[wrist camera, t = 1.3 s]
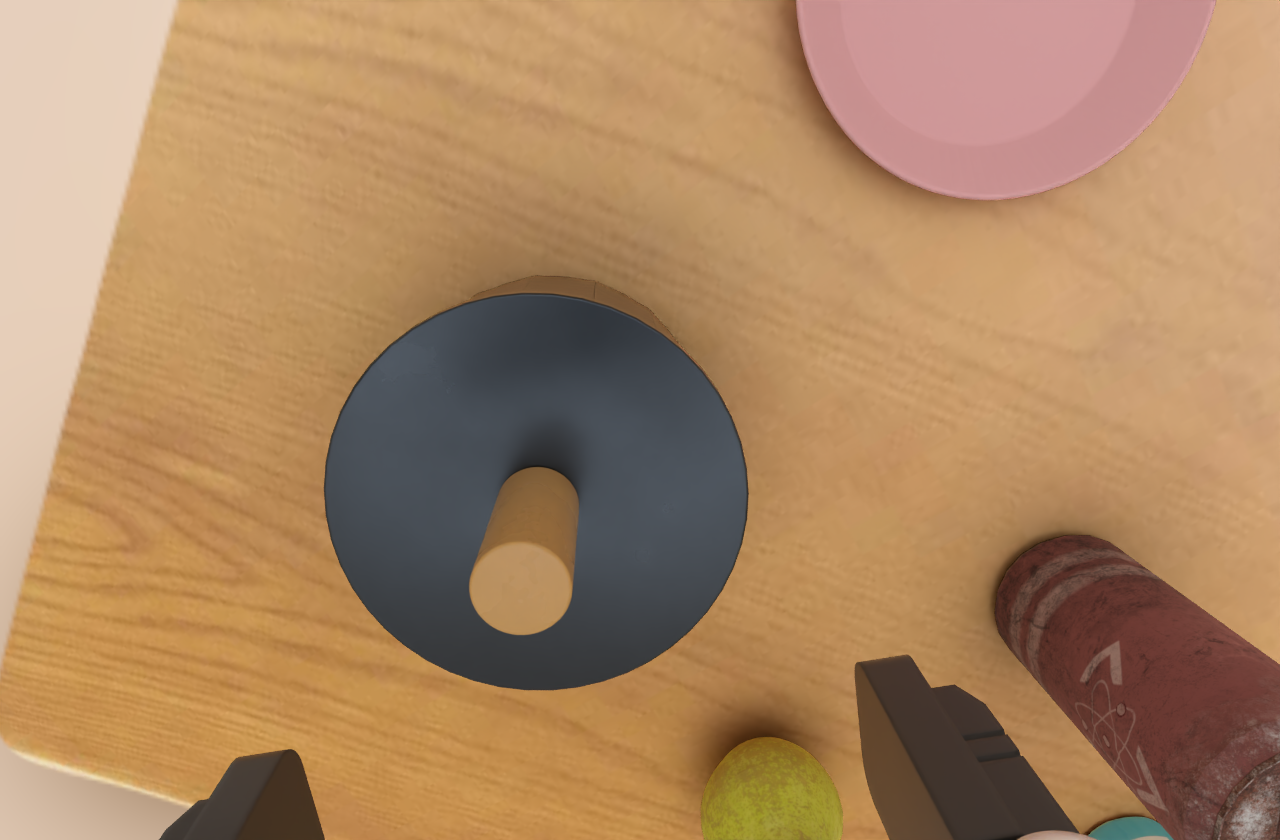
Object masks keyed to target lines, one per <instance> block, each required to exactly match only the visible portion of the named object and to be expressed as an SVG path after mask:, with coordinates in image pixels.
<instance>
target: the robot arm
mask: <svg viewBox="0 0 1280 840" xmlns="http://www.w3.org/2000/svg"><path fill="white" fill-rule="evenodd" d="M855 684H856V695H857V706H858V716H859V727H860V738H861V748H862V758H863V764H864V770H865V774H866V779H867V783H868V786H869V790H870V793H871V796H872V799H873V802H874V804H875V807H876V809H877V811H878V814H879V816H880V818H881V821H882V823H883V825H884V827H885V830H886V832H887V834H888V837H889V839H890V840H1097V839H1095V838H1092V837H1089V836H1086V835H1083V834H1080V833H1079V832H1078V831H1077V829H1076V828H1075V826H1074V825H1073V824H1072V822H1071V821H1070V820H1069V818H1068V817H1067V815H1066V814H1065V813H1064V811H1063V810H1062V809H1061V807H1060V806H1059V804H1058V803H1057V802H1056V800H1055V799H1054V798H1053V796H1052V795H1051V794H1050V792H1049V791H1048V789H1047V788H1046V787H1045V785H1044V784H1043V783H1042V781H1041V780H1040V778H1039V777H1038V776H1037V774H1036V773H1035V772H1034V770H1033V769H1032V767H1031V766H1030V765H1029V763H1028V762H1027V761H1026V759H1025V758H1024V757H1023V756H1020V753H1019V750H1018V748H1017V747H1016V746H1015V744H1014V743H1013V741H1012V740H1011V739H1010V737H1009V736H1008V735H1005V733H1004V729H1003V728H1002V726H1001V725H1000V724H999V722H998V721H997V719H996V718H995V717H994V715H993V714H992V713H991V711H990V710H989V709H988V707H987V706H986V704H984V703H983V702H981V701H980V700H978V699H976V698H975V697H973V696H972V695H970V694H969V693H967V692H965V691H964V690H962V689H961V688H959V687H957V686H956V685H949V686H943V687H936V688H931V687H930V686H929V684H928V683H927V681H926V679H925V678H924V676H923V675H922V673H921V672H920V670H919V669H918V667H917V666H916V664H915V662H914V661H913V659H912V658H911V657H910V656H909V655H902V656H895V657H889V658H882V659H876V660H869V661H863V662H857V663H856V664H855ZM159 840H325V838H324V834H323V831H322V828H321V824H320V821H319V818H318V814H317V811H316V807H315V804H314V801H313V797H312V794H311V791H310V787H309V784H308V781H307V777H306V774H305V771H304V767H303V764H302V761H301V759H300V757H299V755H298V754H297V752H296V751H294V750H292V749H288V750H282V751H275V752H269V753H262V754H256V755H249V756H243V757H238V758H236V759H235V760H234V761H233V762H232V763H231V765H230V766H229V768H228V769H227V771H226V773H225V774H224V776H223V777H222V779H221V780H220V782H219V784H218V785H217V787H216V788H215V790H214V791H213V793H212V795H211V796H210V798H209V799H206V800H200V801H198V802H197V803H195V804H194V805H193V806H192V807H191V808H190V809H189V810H188V811H187V812H185V813H184V814H183V815H182V816H181V817H180V818H179V819H177V820H176V821H175V822H174V823H173V824H172V825H171V826H170V827H168V828H167V829H166V830H165V832H164V833H163V835H162V836H161V838H160V839H159Z"/></svg>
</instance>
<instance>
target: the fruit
mask: <svg viewBox="0 0 1280 840" xmlns="http://www.w3.org/2000/svg"><path fill="white" fill-rule="evenodd" d="M701 827H702V832H703V836H704V840H841V837H842V831H843V811H842V807H841V802H840V799H839V795H838V792H837V790H836V788H835V786H834V783H833V782H832V780H831V778H830V776H829V775H828V773H827V772H826V770H825V769H824V768H823V767H822V765H821V764H820V763H819V762H818V761H817V760H816V759H815V758H814V757H813V756H812V755H811V754H810V753H808V752H807V751H806V750H804V749H803V748H801V747H800V746H798V745H796V744H794V743H792V742H790V741H787V740H784V739H780V738H774V737H759V738H754V739H751V740H747V741H745V742H743V743H741V744H739V745H738V746H736V747H735V748H734V749H732V750H731V751H730V752H729V753H728V754H727V755H726V756H725V757H724V758H723V760H722V761H721V762H720V763H719V764H718V766H717V767H716V769H715V770H714V772H713V773H712V775H711V777H710V779H709V780H708V782H707V785H706V787H705V790H704V794H703V798H702V803H701Z"/></svg>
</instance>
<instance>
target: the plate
mask: <svg viewBox="0 0 1280 840" xmlns="http://www.w3.org/2000/svg"><path fill="white" fill-rule="evenodd" d="M1215 4H1216V0H796V12H797V20H798V28H799V33H800V39H801V43H802V47H803V51H804V55H805V58H806V62H807V65H808V68H809V70H810V73H811V76H812V78H813V81H814V83H815V85H816V88H817V90H818V92H819V94H820V96H821V98H822V100H823V102H824V103H825V105H826V107H827V108H828V110H829V112H830V113H831V115H832V116H833V118H834V119H835V121H836V122H837V124H838V125H839V126H840V128H841V129H842V130H843V131H844V133H845V134H846V135H847V136H848V137H849V138H850V140H851V141H852V142H853V143H854V144H855V145H856V146H857V147H858V148H859V149H860V150H861V151H862V152H863V153H865V154H866V155H867V156H868V157H869V158H870V159H871V160H873V161H874V162H875V163H877V164H878V165H879V166H881V167H882V168H884V169H885V170H887V171H888V172H890V173H891V174H893V175H895V176H896V177H898V178H900V179H902V180H904V181H906V182H908V183H910V184H912V185H915V186H917V187H919V188H922V189H925V190H928V191H931V192H934V193H937V194H941V195H945V196H950V197H955V198H962V199H971V200H1004V199H1012V198H1019V197H1024V196H1029V195H1033V194H1038V193H1041V192H1045V191H1048V190H1051V189H1054V188H1057V187H1059V186H1062V185H1064V184H1067V183H1069V182H1071V181H1074V180H1076V179H1078V178H1080V177H1082V176H1084V175H1086V174H1087V173H1089V172H1091V171H1093V170H1094V169H1096V168H1098V167H1099V166H1101V165H1102V164H1104V163H1105V162H1107V161H1109V160H1110V159H1111V158H1113V157H1114V156H1115V155H1117V154H1118V153H1119V152H1121V151H1122V150H1123V149H1124V148H1126V147H1127V146H1128V145H1129V144H1130V143H1131V142H1132V141H1134V140H1135V139H1136V138H1137V137H1138V136H1139V135H1140V134H1141V133H1142V132H1143V131H1144V130H1145V129H1146V128H1147V127H1148V126H1149V125H1150V124H1151V123H1152V122H1153V120H1154V119H1155V118H1156V117H1157V116H1158V115H1159V114H1160V112H1161V111H1162V110H1163V109H1164V107H1165V106H1166V105H1167V104H1168V102H1169V101H1170V99H1171V98H1172V97H1173V95H1174V94H1175V92H1176V91H1177V89H1178V88H1179V86H1180V85H1181V83H1182V82H1183V80H1184V78H1185V77H1186V75H1187V73H1188V71H1189V70H1190V68H1191V66H1192V64H1193V62H1194V60H1195V58H1196V56H1197V54H1198V52H1199V49H1200V47H1201V45H1202V43H1203V40H1204V38H1205V35H1206V33H1207V30H1208V27H1209V24H1210V21H1211V18H1212V14H1213V11H1214V7H1215Z"/></svg>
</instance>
